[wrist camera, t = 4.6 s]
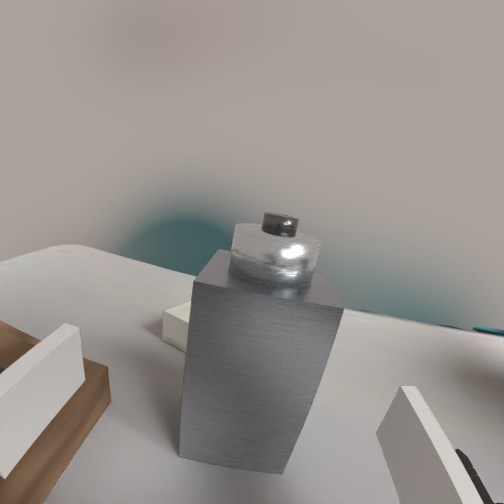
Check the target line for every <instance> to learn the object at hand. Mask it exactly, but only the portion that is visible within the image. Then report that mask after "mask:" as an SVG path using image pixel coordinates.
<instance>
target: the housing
mask: <svg viewBox="0 0 504 504" xmlns="http://www.w3.org/2000/svg"><path fill="white" fill-rule="evenodd" d="M298 221H299V219H297V218H295V217H292V216H288V215H283V214H277V213H270V212H265V213H264V218H263V224H252V223H240V224H236V227H235V232H234V238H233V244H232V250H231V251H226V250H221V249H219V250H218V251H217V252H216V253H215V255H214V256H213V257H212V258H211V260H210V261H209V262H208V264H207V265H206V266H205V267H204V269H203V270H202V271H201V272H200V274H199V275H198V276H197V277H196V279H195V280H194V282H193V291H192V299H191V308H190V317H189V326H188V336H187V346H186V357H185V368H184V380H183V393H182V407H181V423H180V441H179V457H182V458H186V459H190V460H195V461H199V462H204V463H209V464H213V465H219V466H224V467H230V468H236V469H242V470H249V471H257V472H265V473H274V474H282V473H283V471H284V469H285V467H286V464H287V462H288V460H289V458H290V455H291V453H292V451H293V449H294V446H295V444H296V442H297V439H298V437H299V435H300V432H301V430H302V427H303V425H304V423H305V420H306V418H307V415H308V413H309V410H310V407H311V405H312V402H313V400H314V397H315V394H316V392H317V389H318V386H319V383H320V381H321V378H322V375H323V372H324V369H325V367H326V364H327V361H328V358H329V355H330V352H331V349H332V346H333V343H334V340H335V336H336V333H337V330H338V327H339V324H340V320H341V317H342V314H343V310H344V307H343V306H342V304H341V302H340V301H339V299H338V297H337V295H336V293H335V291H334V290H333V288H332V286H331V284H330V282H329V281H328V279H327V277H326V275H325V274H324V272H323V270H322V269H321V268H317V267H315V265H316V261H317V256H318V252H319V248H320V243H321V241H320V240H319V239H317V238H315V237H312V236H310V235H307V234H304V233H301V232H297V231H296V230H297V225H298Z"/></svg>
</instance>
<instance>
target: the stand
mask: <svg viewBox="0 0 504 504" xmlns="http://www.w3.org/2000/svg"><path fill="white" fill-rule="evenodd" d="M39 342H41V340H39V339H36V338H34V337H32V336H30V335H28V334H26V333H24V332H22V331H20V330H17V329H15V328H13V327H11V326H9V325H8V324H6V323H4V322H2V321H0V368H3V369H5V370H6V369H7V368H8V367H10V366H11V365H12V364H13V363H14V362H16V361H17V360H18V359H19V358H21V357H22V356H23V355H24V354H26V353H27V352H28V351H29V350H31V349H32V348H33V347H34V346H36V345H37V344H38V343H39ZM83 366H84V374H85V381H84V382H83V384H82V385H81V386H80V387H79V388H78V389H77V391H76V392H75V393H74V394H73V395H72V397H71V398H70V399H69V400H68V401H67V402H66V404H65V405H64V406H63V407H62V408H61V410H60V411H59V412H58V413H57V414H56V416H55V417H54V418H53V419H52V420H51V422H50V423H49V424H48V425H47V427H46V428H45V429H44V430H43V431H42V433H41V434H40V435H39V436H38V438H37V439H36V440H35V441H34V443H33V444H32V445H31V446H30V448H29V449H28V450H27V451H26V453H25V454H24V455H23V457H22V458H21V459H20V460H19V462H18V463H17V464H16V465H15V467H14V468H13V469H12V471H11V472H10V473H9V475H8V476H7V477H6V479H4V478H3V477H1V476H0V504H43V502H44V501H45V499H46V498H47V496H48V494H49V493H50V491H51V490H52V488H53V487H54V485H55V484H56V482H57V480H58V479H59V477H60V476H61V474H62V473H63V471H64V470H65V468H66V467H67V465H68V464H69V462H70V461H71V459H72V458H73V456H74V455H75V453H76V452H77V450H78V449H79V447H80V446H81V444H82V443H83V441H84V440H85V438H86V437H87V435H88V434H89V432H90V431H91V429H92V428H93V426H94V425H95V424H96V422H97V421H98V419H99V418H100V416H101V415H102V413H103V412H104V410H105V409H106V408H107V406H108V405H109V403H110V402H111V396H110V387H109V376H108V367H107V366H104V365H101V364H98V363H95V362H92V361H90V360H87V359H84V358H83Z"/></svg>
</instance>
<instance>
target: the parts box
mask: <svg viewBox="0 0 504 504" xmlns="http://www.w3.org/2000/svg"><path fill="white" fill-rule="evenodd" d="M190 308H191V301H188V302H185V303H183V304H180V305H177V306H175V307H172V308H170V309H167V310H164V315H163V331H162V340H164V341H166V342H167V343H169V344H171V345H173V346H175V347H176V348H178V349H180V350H182V351H184V352H185V353H186V346H187V336H188V326H189V317H190Z"/></svg>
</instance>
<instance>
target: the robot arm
mask: <svg viewBox="0 0 504 504" xmlns="http://www.w3.org/2000/svg"><path fill="white" fill-rule="evenodd" d="M84 381H85V374H84V366H83V357H82V348H81V337H80V328H79V327H76V326H73V325H71V324H68V323H64V324H63V325H62V326H60V327H59V328H58V329H56V330H55V331H54V332H52V333H51V334H50V335H48V336H47V337H46V338H45V339H43V340H42V341H41V342H39V343H38V344H37V345H36V346H34V347H33V348H32V349H31V350H29V351H28V352H27V353H26V354H24V355H23V356H22V357H21V358H19V359H18V360H17V361H16V362H14V363H13V364H12V365H11V366H10V367H8V368H7V369H6V370H5V369H3V368H0V476H1V477H3V478H4V479H6V477H7V476H8V475H9V473H10V472H11V471H12V469H13V468H14V467H15V465H16V464H17V463H18V462H19V460H20V459H21V458H22V457H23V455H24V454H25V453H26V451H27V450H28V449H29V448H30V446H31V445H32V444H33V443H34V441H35V440H36V439H37V438H38V436H39V435H40V434H41V433H42V431H43V430H44V429H45V428H46V427H47V425H48V424H49V423H50V422H51V420H52V419H53V418H54V417H55V416H56V414H57V413H58V412H59V411H60V410H61V408H62V407H63V406H64V405H65V404H66V402H67V401H68V400H69V399H70V398H71V397H72V395H73V394H74V393H75V392H76V391H77V389H78V388H79V387H80V386H81V385H82V384H83V382H84ZM376 434H377V437H378V440H379V442H380V445H381V448H382V451H383V453H384V456H385V459H386V462H387V464H388V467H389V470H390V473H391V476H392V479H393V482H394V485H395V487H396V490H397V493H398V496H399V499H400V502H401V504H494V503H493V501H492V500H491V498H490V496H489V494H488V492H487V490H486V488H485V487H484V485H483V483H482V481H481V479H480V478H479V476H477V472H476V471H475V469H474V468H473V466H472V464H471V462H470V460H469V459H468V457H467V456H466V455H465V454H464V453H463V452H461V451H460V450H459V449H455V450H454V448H453V447H452V445H451V443H450V442H449V440H448V438H447V436H446V435H445V433H444V431H443V430H442V428H441V426H440V425H439V423H438V421H437V420H436V418H435V417H434V415H433V413H432V412H431V410H430V408H429V407H428V405H427V404H426V402H425V400H424V399H423V397H422V396H421V394H420V393H419V391H418V389H417V388H416V386H400V388H399V390H398V392H397V394H396V396H395V398H394V400H393V402H392V404H391V406H390V408H389V410H388V412H387V414H386V415H385V417H384V419H383V421H382V423H381V425H380V426H379V428H378V430H377V432H376ZM495 504H503V503H495Z"/></svg>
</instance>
